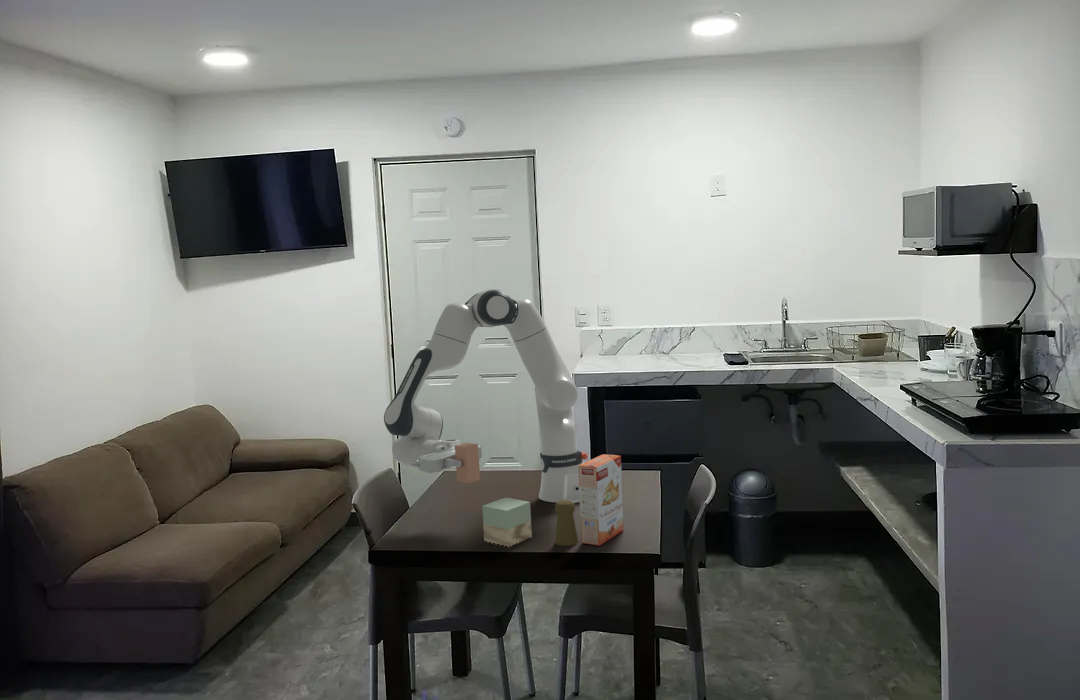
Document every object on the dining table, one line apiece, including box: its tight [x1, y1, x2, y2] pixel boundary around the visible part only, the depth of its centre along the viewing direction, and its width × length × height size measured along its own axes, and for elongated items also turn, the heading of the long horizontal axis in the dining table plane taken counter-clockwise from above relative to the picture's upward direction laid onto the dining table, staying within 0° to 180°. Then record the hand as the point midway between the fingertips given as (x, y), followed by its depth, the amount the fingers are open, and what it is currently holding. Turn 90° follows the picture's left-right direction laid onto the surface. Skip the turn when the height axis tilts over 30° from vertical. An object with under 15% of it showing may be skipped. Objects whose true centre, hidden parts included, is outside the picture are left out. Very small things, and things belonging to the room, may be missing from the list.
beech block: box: [482, 520, 533, 548], centre depth 225 cm, size 9×9×5 cm
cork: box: [554, 500, 579, 547], centre depth 219 cm, size 6×6×11 cm
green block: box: [481, 497, 532, 529], centre depth 224 cm, size 9×9×5 cm
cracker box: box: [578, 454, 624, 547], centre depth 221 cm, size 14×6×21 cm, turn 148°
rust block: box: [455, 442, 481, 484], centre depth 232 cm, size 4×4×10 cm
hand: (469, 461), depth 232 cm, fingers closed on rust block, 4 cm apart
